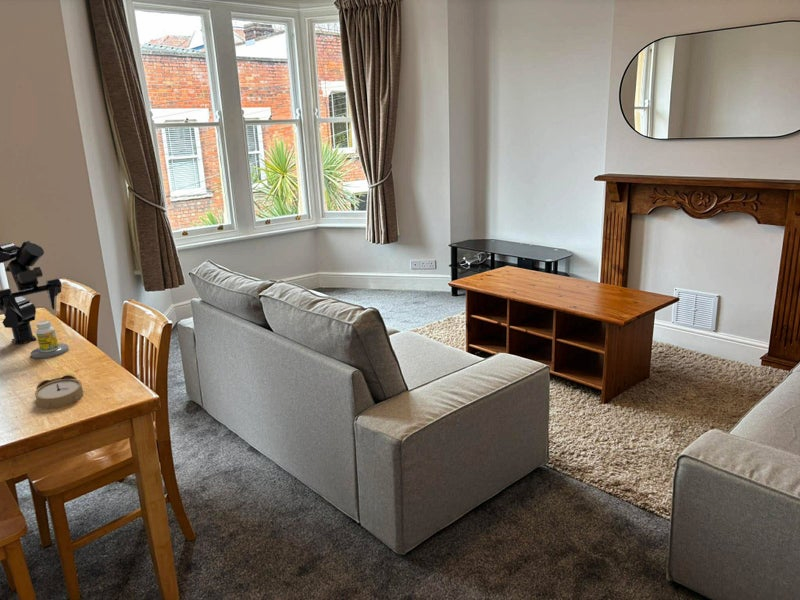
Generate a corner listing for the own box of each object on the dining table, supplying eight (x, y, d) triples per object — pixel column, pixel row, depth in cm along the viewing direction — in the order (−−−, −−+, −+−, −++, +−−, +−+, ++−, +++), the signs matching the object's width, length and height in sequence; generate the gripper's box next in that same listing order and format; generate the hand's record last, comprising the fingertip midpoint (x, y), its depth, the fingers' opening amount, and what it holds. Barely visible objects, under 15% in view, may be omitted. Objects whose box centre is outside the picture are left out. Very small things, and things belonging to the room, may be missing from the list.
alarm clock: (36, 403, 158) (30, 376, 169) (40, 419, 160) (34, 390, 171) (84, 391, 164) (75, 365, 175) (87, 406, 166) (78, 380, 177)
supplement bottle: (61, 346, 204) (55, 319, 201) (55, 352, 199) (48, 324, 196) (44, 347, 203) (38, 320, 200) (37, 353, 198) (31, 325, 195)
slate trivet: (27, 353, 202) (26, 350, 202) (63, 343, 209) (62, 341, 209) (36, 361, 194) (35, 358, 194) (73, 351, 201) (72, 348, 201)
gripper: (-12, 267, 193) (5, 307, 189) (53, 255, 205) (70, 292, 200) (-10, 286, 201) (6, 325, 197) (52, 273, 213) (68, 310, 208)
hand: (38, 312), depth 200 cm, fingers open, 9 cm apart
